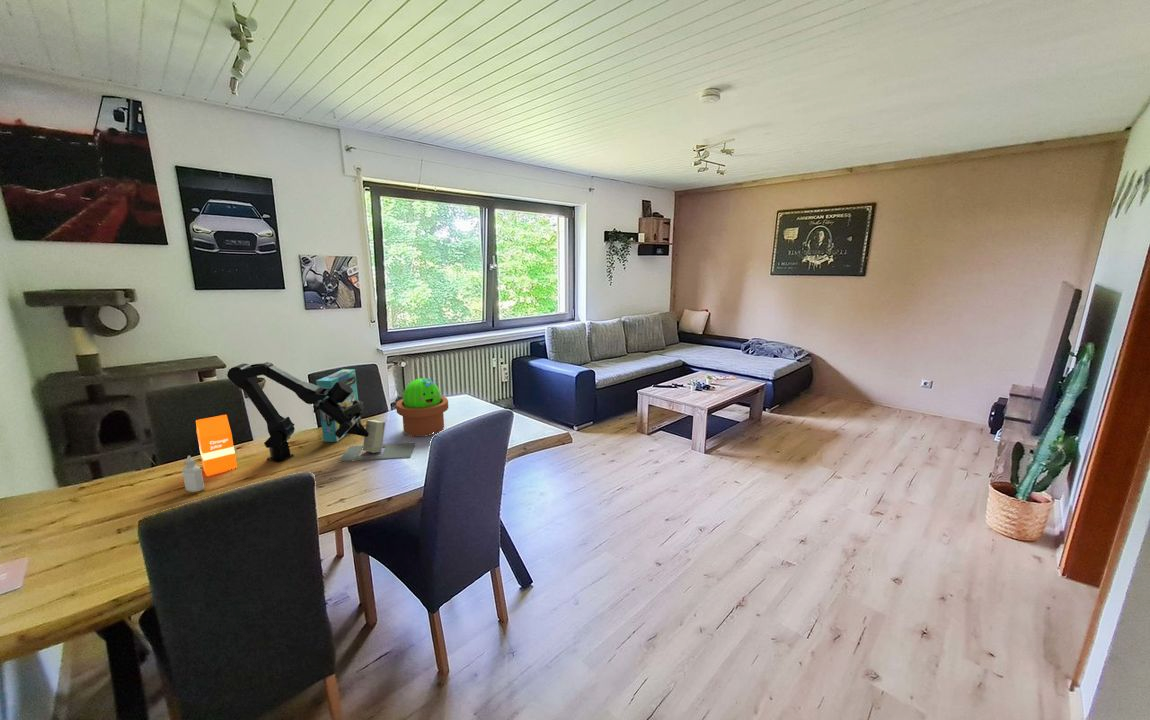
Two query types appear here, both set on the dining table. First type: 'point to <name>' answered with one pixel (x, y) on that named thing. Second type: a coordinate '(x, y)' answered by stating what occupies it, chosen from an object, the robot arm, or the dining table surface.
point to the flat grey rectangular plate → (389, 453)
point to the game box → (328, 382)
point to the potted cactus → (422, 408)
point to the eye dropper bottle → (192, 476)
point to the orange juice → (216, 444)
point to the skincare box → (374, 436)
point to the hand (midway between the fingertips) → (367, 435)
